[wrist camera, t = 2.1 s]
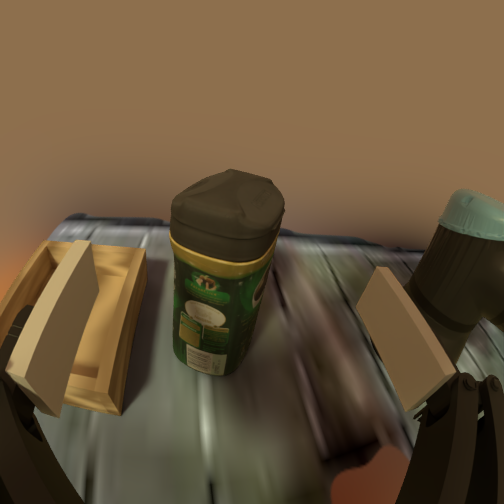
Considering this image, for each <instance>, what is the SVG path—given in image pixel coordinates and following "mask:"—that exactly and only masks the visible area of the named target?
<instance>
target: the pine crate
mask: <svg viewBox="0 0 504 504" xmlns="http://www.w3.org/2000/svg"><path fill="white" fill-rule="evenodd" d="M72 244H73V243H69V242H57V241H45V240H44V241H43V242H42V243H41V244H40V246H39V247H38V248H37V250H36V251H35V252H34V254H33V255H32V256H31V258H30V259H29V260H28V262H27V263H26V265H25V266H24V267H23V269H22V270H21V272H20V273H19V275H18V276H17V278H16V279H15V281H14V282H13V284H12V285H11V287H10V288H9V290H8V291H7V293H6V295H5V296H4V298H3V300H2V301H1V303H0V348H1V346H2V343H3V341H4V339H5V337H6V335H8V331H9V329H10V327H11V326H12V323H13V321H14V319H15V317H16V315H17V314H18V312H20V311H21V310H22V309H23V308H24V307H25V306H26V305H32V306H35V305H36V303H37V301H38V299H39V297H40V296H41V294H42V292H43V290H44V289H45V287H46V285H47V283H48V282H49V280H50V278H51V277H52V275H53V273H54V272H55V270H56V269H57V267H58V266H59V264H60V262H61V261H62V259H63V258H64V256H65V255H66V253H67V252H68V250H69V249H70V247H71V246H72ZM91 245H92V244H91ZM92 252H93V258H94V264H95V270H96V275H97V280H98V285H99V290H100V291H99V293H98V296H97V298H96V301H95V303H94V306H93V308H92V311H91V314H90V316H89V319H88V322H87V324H86V327H85V330H84V333H83V336H82V338H81V341H80V344H79V347H78V351H77V354H76V357H75V360H74V363H73V367H72V370H71V373H70V377H69V381H68V384H67V388H66V392H65V396H64V400H63V403H64V404H67V405H71V406H75V407H79V408H83V409H88V410H92V411H97V412H102V413H107V414H112V415H118V416H121V412H122V404H123V397H124V390H125V384H126V377H127V371H128V365H129V360H130V355H131V349H132V344H133V339H134V334H135V330H136V325H137V320H138V316H139V312H140V307H141V303H142V299H143V295H144V291H145V287H146V283H147V279H148V278H147V264H146V249H141V248H129V247H117V246H105V245H92Z"/></svg>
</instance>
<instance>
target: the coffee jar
mask: <svg viewBox="0 0 504 504" xmlns="http://www.w3.org/2000/svg"><path fill="white" fill-rule="evenodd" d="M284 204H285V203H284V198H283V196H282V194H281V192H280V191H279V190H278V188H277V187H276V186H275V185H274V184H273V182H272V180H270V179H268V178H265V177H261V176H258V175H253V174H250V173H246V172H242V171H238V170H233V169H228V170H226V171H225V172H222V173H218V174H215V175H213V176H209V177H206V178H204V179H202V180H200V181H199V182H197V183H195V184H193V185H192V186H190V187H188V188H187V189H185V190H184V191H183V192H181V193H180V194H178V195H177V196H176V197H175V198H174V199H173V201H172V205H171V221H170V231H169V237H170V242H171V246H172V249H173V252H174V311H173V350H174V353H175V355H176V356H177V358H178V359H179V360H180V361H181V362H183V363H184V364H186V365H187V366H189V367H191V368H193V369H195V370H196V371H199V372H202V373H205V374H209V375H214V376H222V375H227V374H229V373H231V372H233V371H234V370H235V369H236V368H237V367H238V365H239V364H240V363H241V361H242V359H243V358H244V356H245V354H246V352H247V349H248V347H249V345H250V342H251V338H252V335H253V331H254V328H255V324H256V320H257V315H258V311H259V307H260V304H261V300H262V296H263V292H264V289H265V285H266V281H267V277H268V273H269V269H270V265H271V262H272V258H273V254H274V250H275V246H276V242H277V238H278V234H279V230H280V225H281V221H282V216H283V214H284V212H285V209H284Z"/></svg>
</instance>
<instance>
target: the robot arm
mask: <svg viewBox="0 0 504 504" xmlns="http://www.w3.org/2000/svg"><path fill="white" fill-rule="evenodd" d="M438 222H439V224H438V227H437V229H436V231H435V233H434V235H433V237H432V239H431V241H430V243H429V245H428V247H427V249H426V251H425V253H424V255H423V257H422V258H421V260H420V262H419V264H418V266H417V268H416V269H415V271H414V273H413V275H412V277H411V279H410V280H409V282H408V283H407V284H406V285H405V286H404V287H402V286H401V284H400V283H399V282H398V280H397V279H396V278H395V276H394V275H393V273H392V272H391V271H390V269H389V268H388V267H378V266H376V269H375V271H374V273H373V275H372V277H371V279H370V280H369V282H368V284H367V286H366V288H365V290H364V292H363V294H362V296H361V298H360V299H359V301H358V303H357V305H356V309H357V311H358V313H359V315H360V316H361V318H362V320H363V322H364V324H365V326H366V328H367V330H368V332H369V334H370V337H371V341H372V344H373V347H374V349H375V351H376V353H377V355H378V356H379V358H380V359H381V361H382V362H383V363H384V365H385V368H386V370H387V372H388V374H389V376H390V378H391V381H392V383H393V385H394V387H395V390H396V392H397V394H398V396H399V399H400V401H401V403H402V406H403V408H404V410H405V412H407V411H410V410H413V409H416V408H418V407H419V406H420V405H421V404H422V403H424V402H425V401H426V403H427V405H426V406H425V407H424V408H423V409H422V410H420V411H419V412H418V413H417V414H415V415H414V418H413V419H416V418H417V417H419V416H420V415H421V414H422V416H421V417H420V418H419V419H418V420H417V421H419V422H420V427H419V431H418V435H417V439H416V443H415V447H414V450H413V454H412V457H411V460H410V464H409V467H408V470H407V473H406V476H405V479H404V482H403V485H402V487H401V490H400V493H399V495H398V498H397V500H396V503H395V504H504V393H503V389H502V385H501V383H500V381H499V379H498V378H497V377H496V376H494V375H489V376H488V377H486V378H485V379H484V380H483V381H476V380H475V379H474V378H473V376H472V375H470V374H469V373H466V372H464V373H460V371H459V370H458V368H457V366H456V363H457V361H458V359H459V357H460V355H461V353H462V350H463V348H464V346H465V344H466V341H467V339H468V337H469V334H470V332H471V331H472V330H473V328H474V327H475V326H476V324H477V323H478V322H479V321H480V320H481V318H482V317H484V318H486V319H487V320H489V321H490V322H491V323H492V324H494V325H495V326H496V327H497V328H499V329H500V330H501V331H502V332H504V204H503V203H501V202H499V201H497V200H495V199H493V198H491V197H489V196H486V195H484V194H481V193H479V192H476V191H473V190H469V189H460V190H457V191H455V192H454V193H453V194H452V196H451V198H450V200H449V202H448V204H447V206H446V208H445V210H444V212H443V214H442V215H441V216H440V217H439V219H438ZM99 291H100V290H99V285H98V280H97V275H96V270H95V264H94V258H93V252H92V245H91V241H84V240H75V241H74V243H73V244H72V246H71V247H70V249H69V250H68V252H67V253H66V255H65V256H64V258H63V259H62V261H61V262H60V264H59V266H58V267H57V269H56V270H55V272H54V273H53V275H52V277H51V278H50V280H49V282H48V283H47V285H46V287H45V289H44V290H43V292H42V294H41V296H40V297H39V299H38V301H37V303H36V305H35V306H32V305H26V306H25V307H24V308H23V309H22V310H21V311H20V312H18V314H17V315H16V317H15V319H14V321H13V323H12V326H11V327H10V329H9V331H8V335H6V337H5V339H4V341H3V343H2V346H1V348H0V504H85V503H84V502H83V500H82V499H81V497H80V496H79V494H78V493H77V492H76V490H75V489H74V487H73V485H72V484H71V482H70V481H69V479H68V478H67V476H66V474H65V473H64V471H63V469H62V468H61V466H60V464H59V462H58V461H57V459H56V457H55V455H54V453H53V451H52V450H51V448H50V446H49V444H48V442H47V440H46V438H45V436H44V434H43V431H42V429H41V427H40V425H39V423H38V420H37V418H36V416H35V415H34V413H33V411H34V408H35V406H36V407H37V408H38V409H39V410H40V411H41V412H42V413H44V414H47V415H50V416H53V417H57V418H60V413H61V408H62V404H63V400H64V396H65V392H66V388H67V384H68V381H69V377H70V373H71V370H72V367H73V363H74V360H75V357H76V354H77V351H78V347H79V344H80V341H81V338H82V336H83V333H84V330H85V327H86V324H87V322H88V319H89V316H90V314H91V311H92V308H93V306H94V303H95V301H96V298H97V296H98V293H99ZM483 410H484V416H483V417H482V418H480V419H479V420H478V414H479V413H480V412H482V411H483ZM477 420H478V421H477Z"/></svg>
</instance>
